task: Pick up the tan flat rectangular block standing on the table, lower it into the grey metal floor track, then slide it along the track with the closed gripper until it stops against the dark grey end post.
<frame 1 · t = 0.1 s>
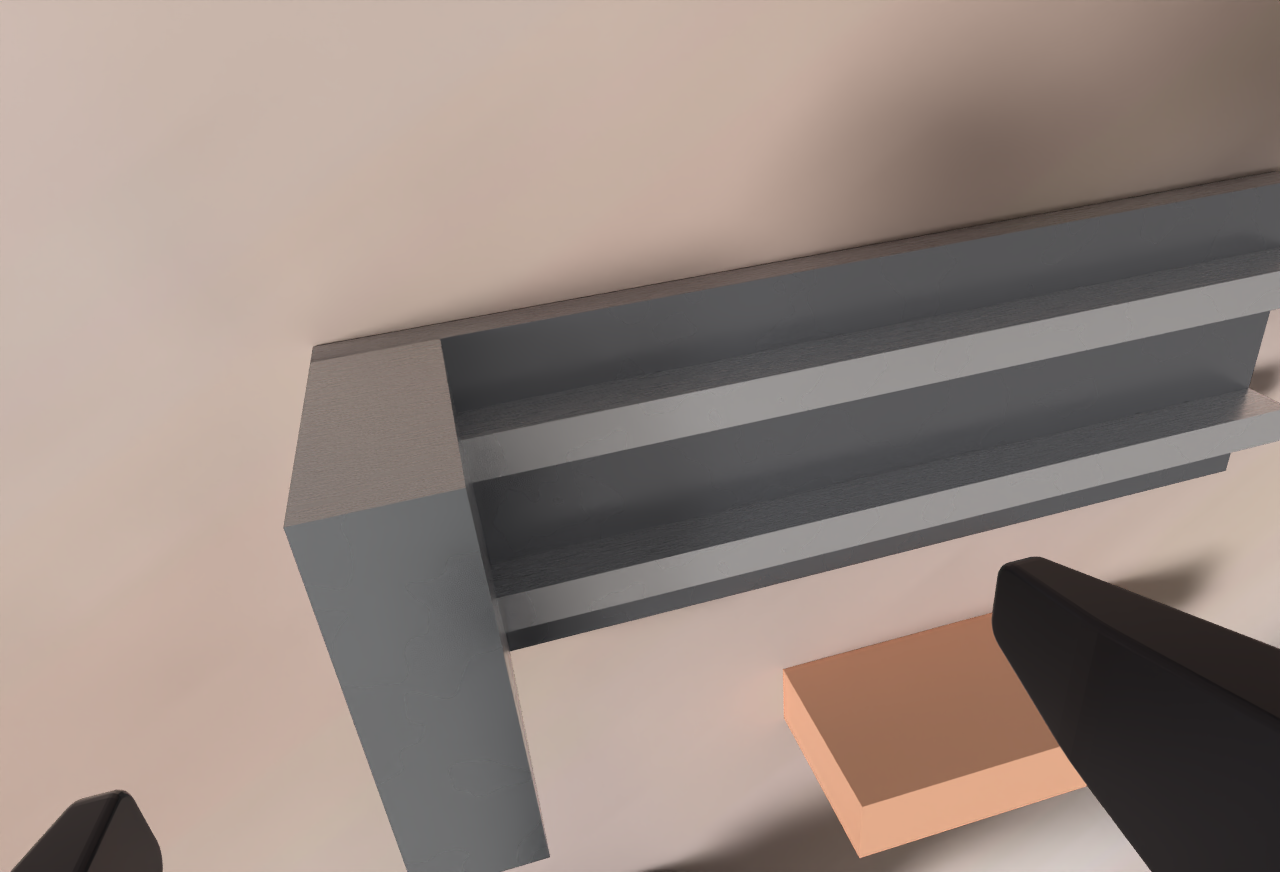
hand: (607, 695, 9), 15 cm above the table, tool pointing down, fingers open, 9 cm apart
tan flat rectangular block: (933, 649, 32), on the table
track base: (842, 412, 26), on the table
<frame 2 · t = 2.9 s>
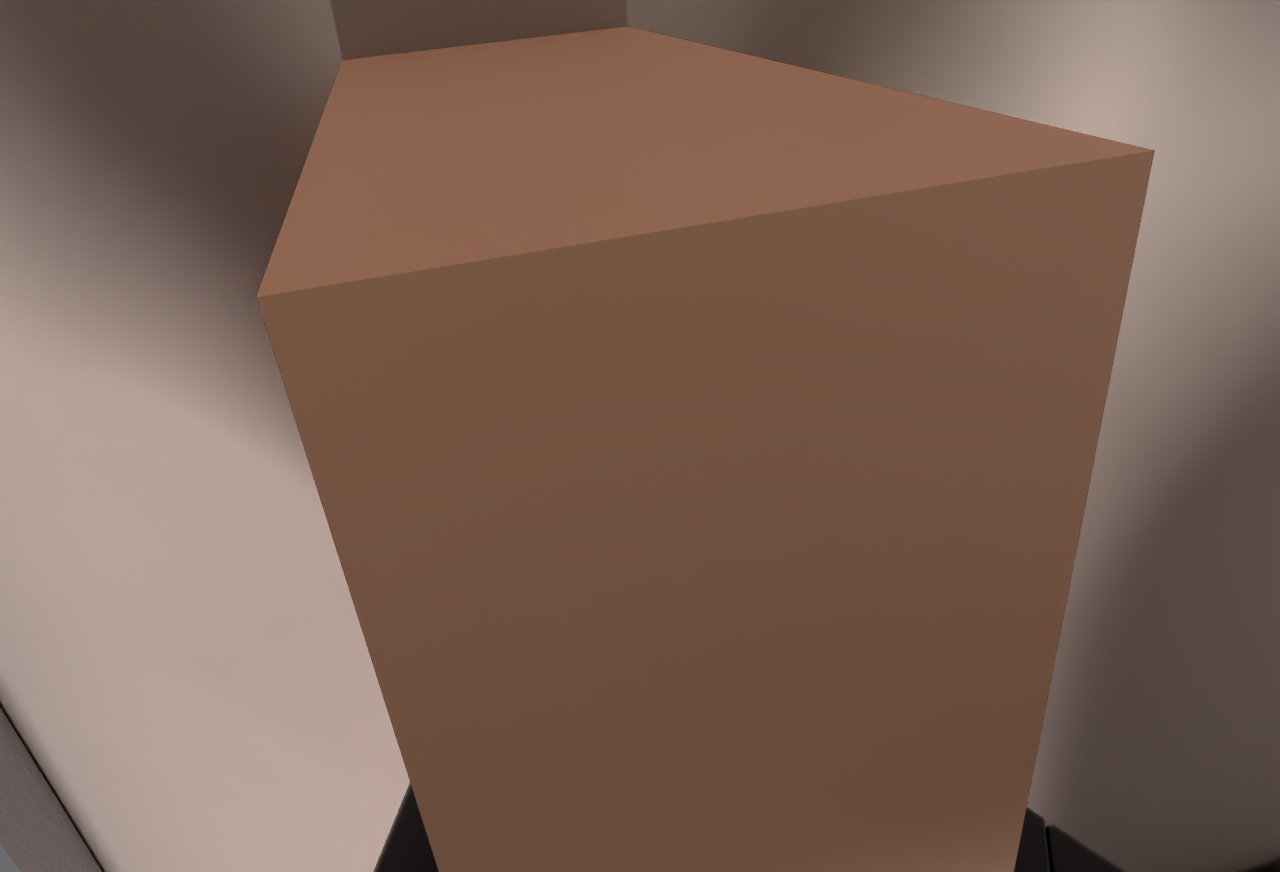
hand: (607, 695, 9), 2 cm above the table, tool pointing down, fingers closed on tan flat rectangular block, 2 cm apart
tan flat rectangular block: (576, 599, 10), on the table, touching gripper
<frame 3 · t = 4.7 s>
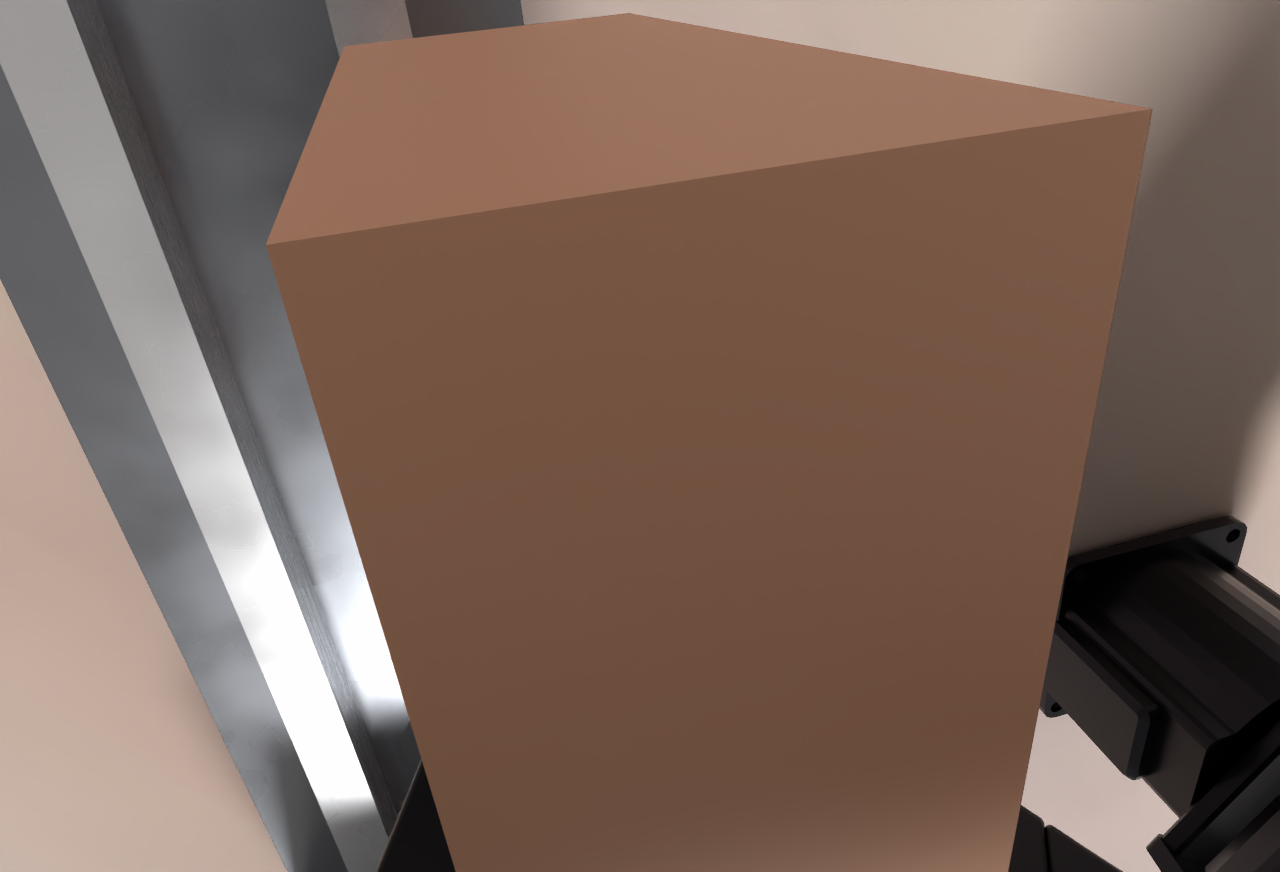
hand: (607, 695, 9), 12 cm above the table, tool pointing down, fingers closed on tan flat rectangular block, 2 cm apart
tan flat rectangular block: (577, 588, 10), point 10 cm above the table, touching gripper
track base: (383, 512, 21), on the table
when the fingers open (3 cm above the table, at t = 6.6 s): tan flat rectangular block stays where it is, resting on track base.
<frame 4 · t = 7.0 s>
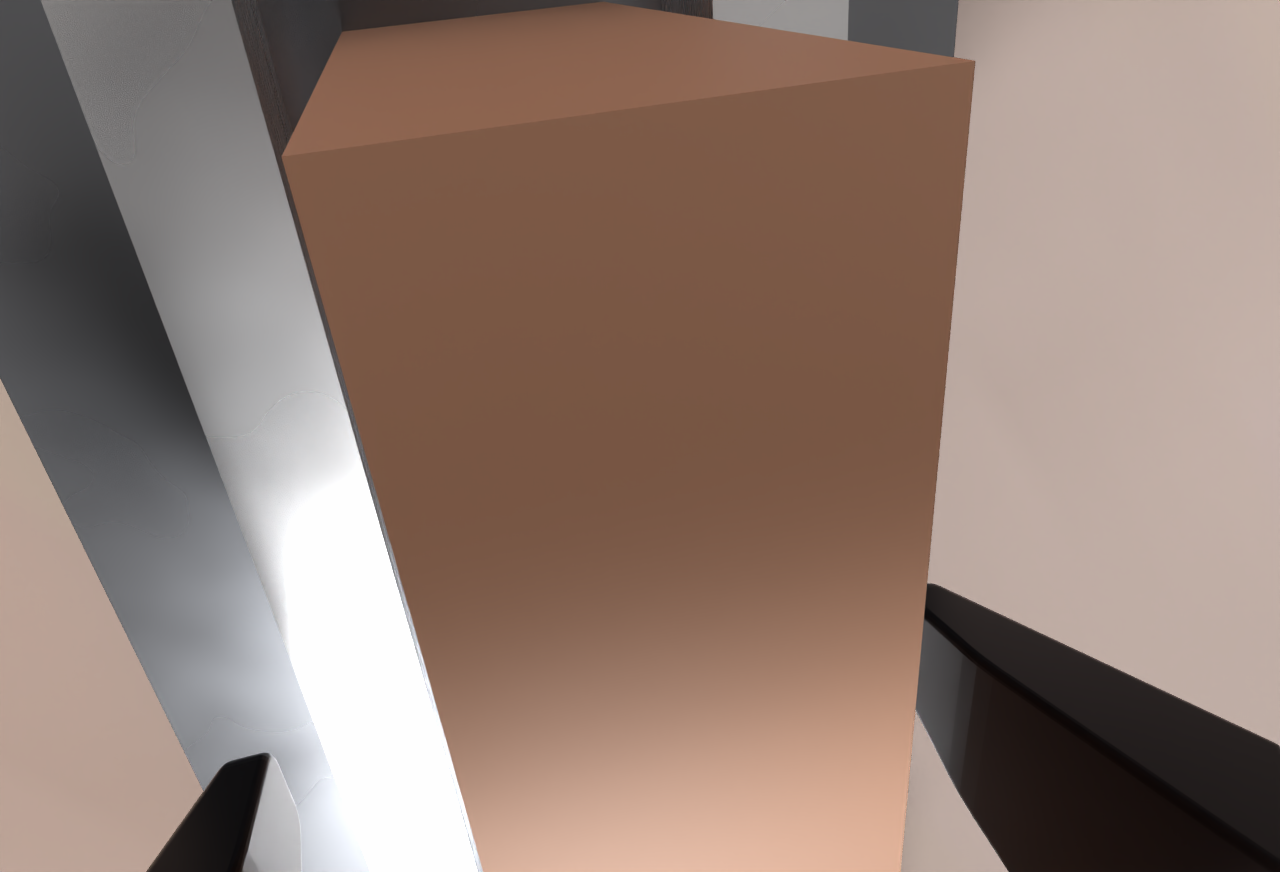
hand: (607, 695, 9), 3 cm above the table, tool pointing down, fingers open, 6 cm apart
tan flat rectangular block: (562, 544, 11), point 1 cm above the table, touching track base
track base: (581, 722, 14), on the table
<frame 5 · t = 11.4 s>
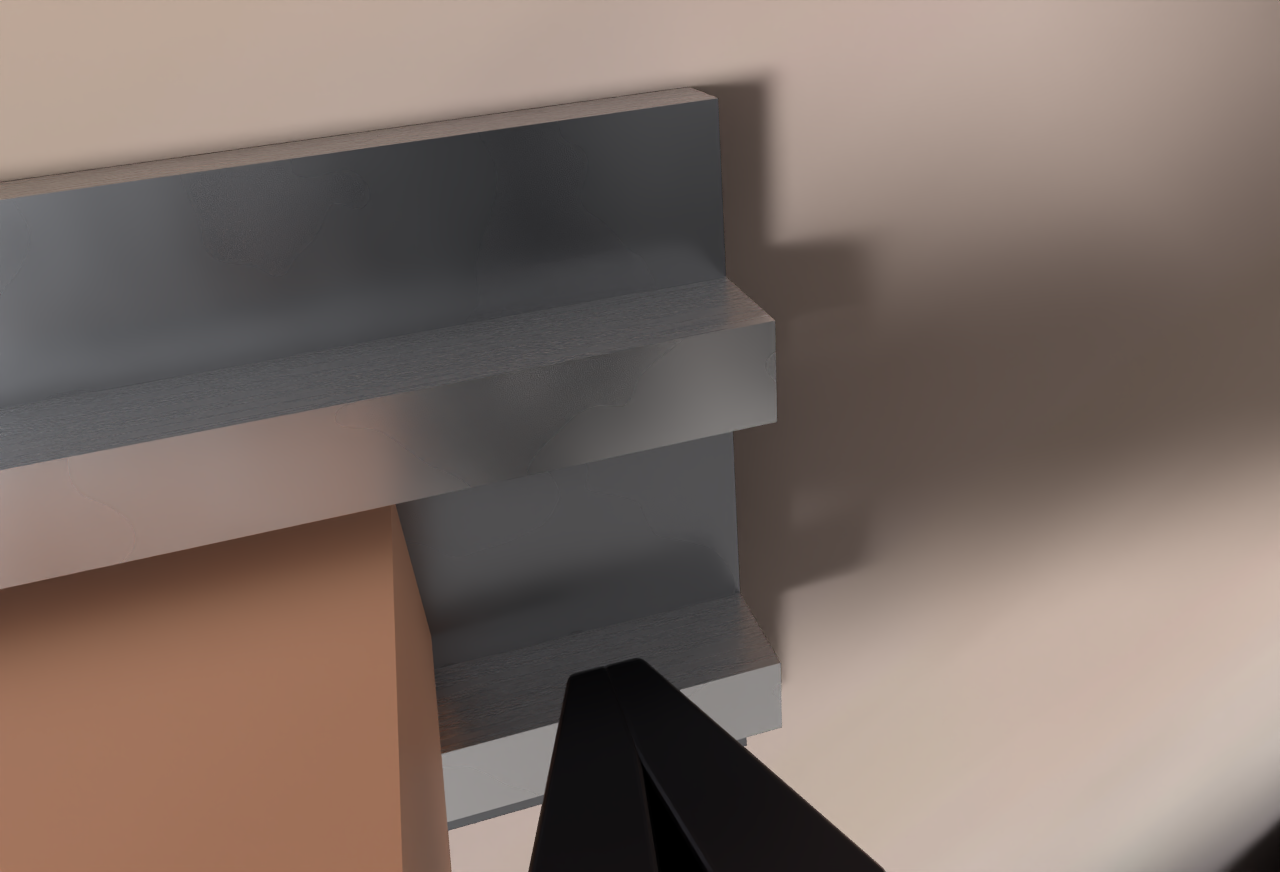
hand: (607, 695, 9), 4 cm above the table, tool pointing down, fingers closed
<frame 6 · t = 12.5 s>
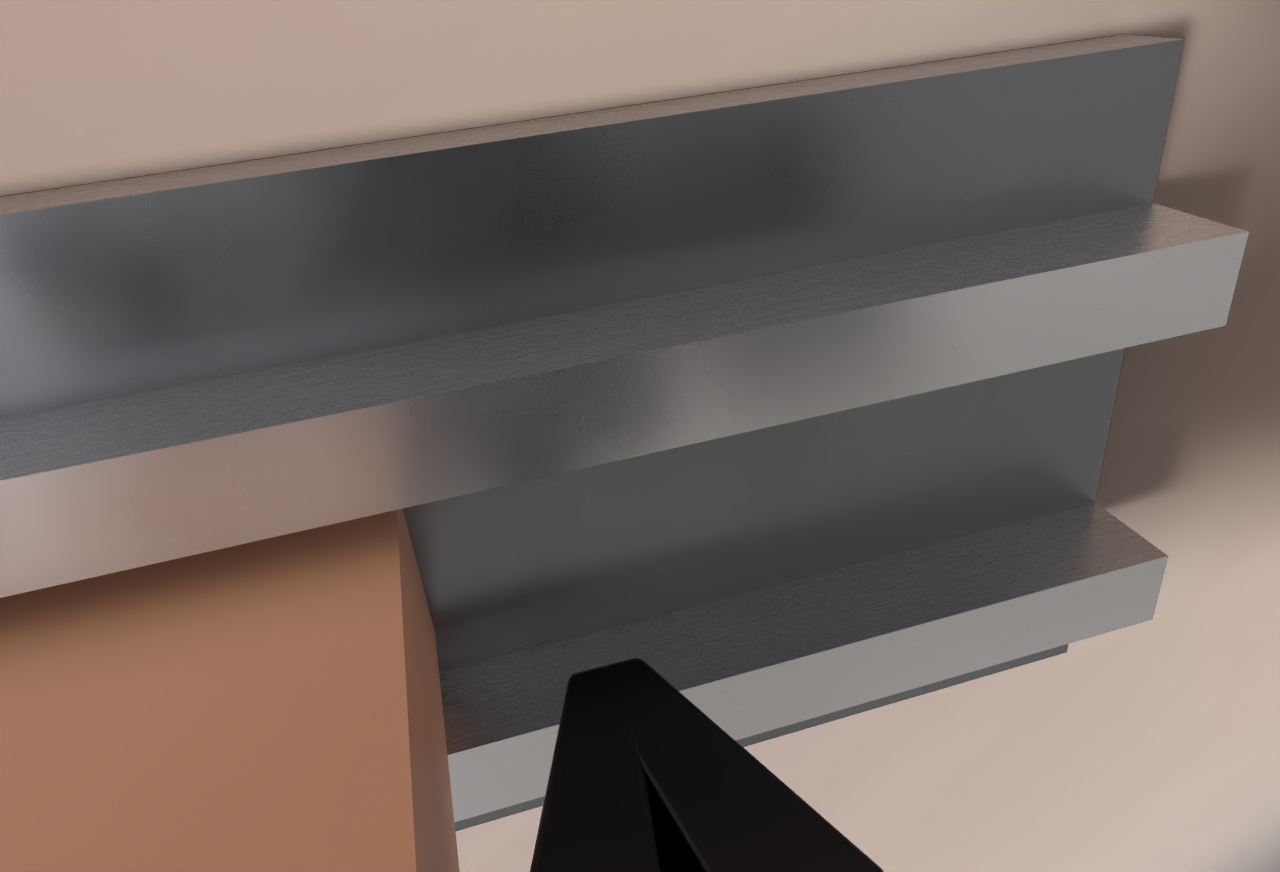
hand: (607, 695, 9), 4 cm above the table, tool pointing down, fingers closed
track base: (131, 588, 11), on the table
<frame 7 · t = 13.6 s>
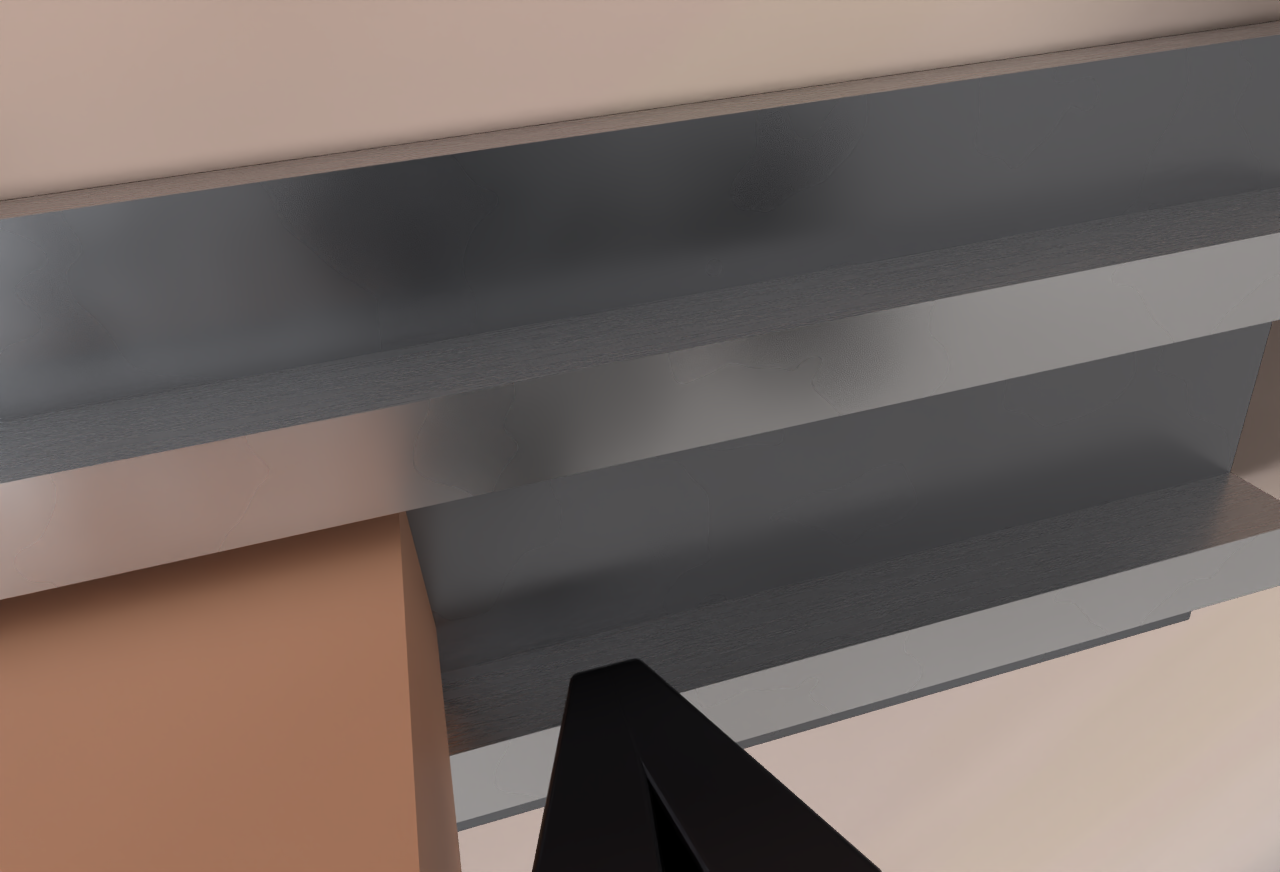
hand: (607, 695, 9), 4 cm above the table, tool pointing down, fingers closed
track base: (342, 543, 12), on the table
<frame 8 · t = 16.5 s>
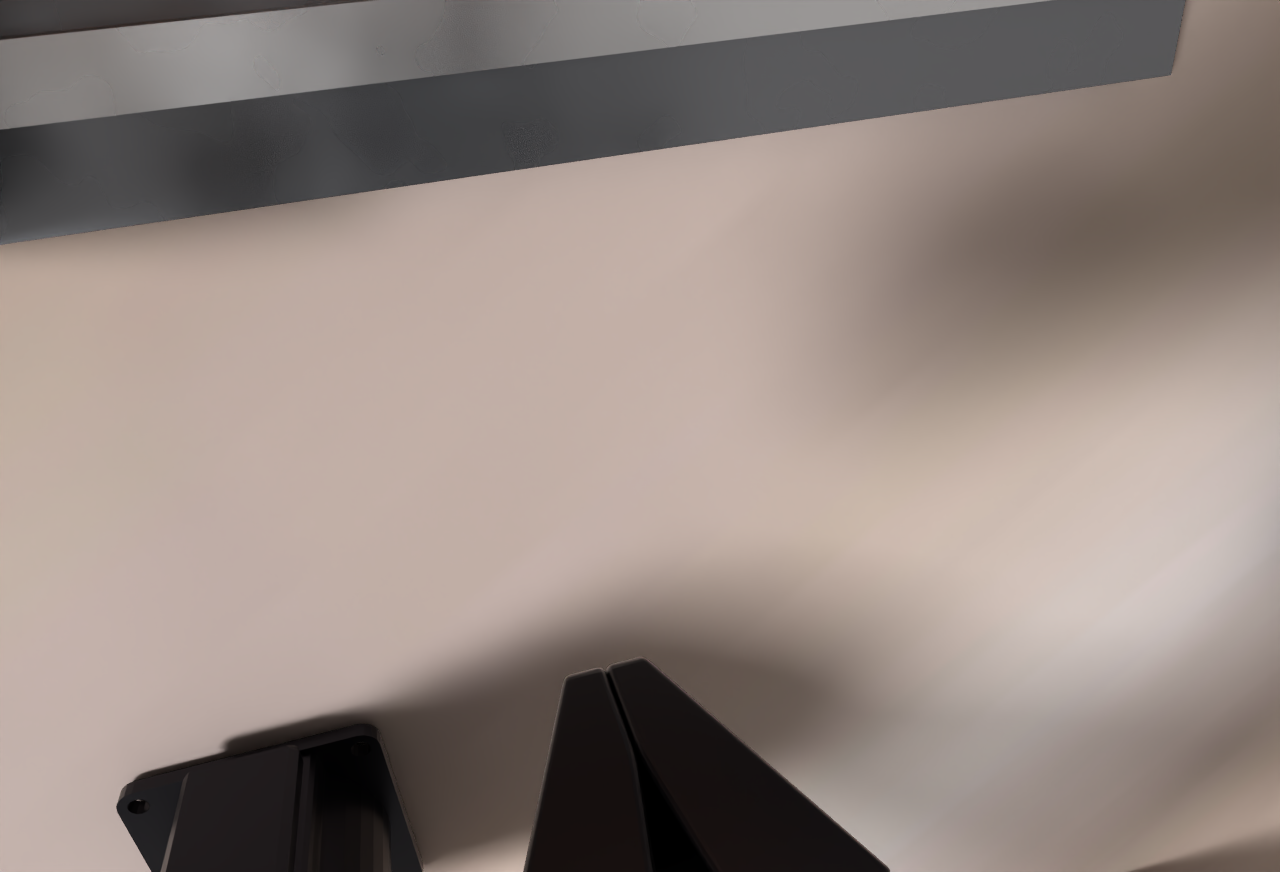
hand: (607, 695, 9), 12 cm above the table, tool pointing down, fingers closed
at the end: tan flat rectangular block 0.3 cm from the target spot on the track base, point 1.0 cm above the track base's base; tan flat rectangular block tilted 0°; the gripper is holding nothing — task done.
